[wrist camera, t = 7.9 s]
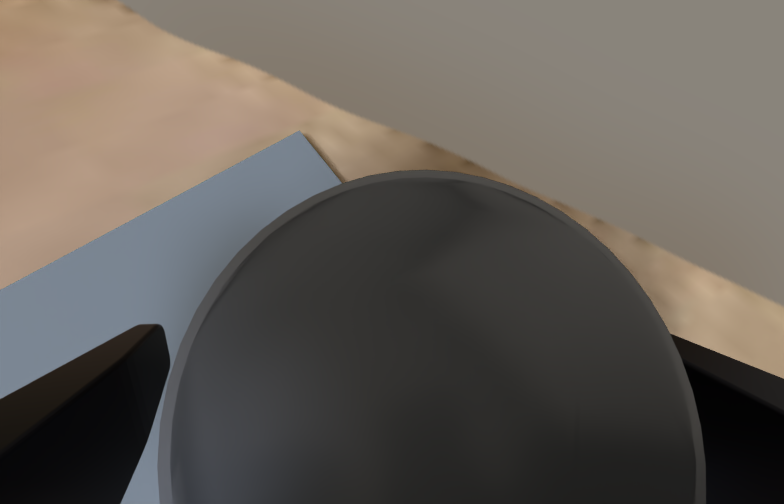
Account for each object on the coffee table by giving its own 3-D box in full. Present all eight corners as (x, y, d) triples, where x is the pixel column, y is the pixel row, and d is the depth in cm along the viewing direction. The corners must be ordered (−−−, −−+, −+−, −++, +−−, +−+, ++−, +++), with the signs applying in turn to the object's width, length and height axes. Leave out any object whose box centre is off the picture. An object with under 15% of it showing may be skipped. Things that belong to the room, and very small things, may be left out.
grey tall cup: (437, 480, 16) (790, 723, 3) (294, 492, 15) (105, 850, 3) (425, 336, 17) (626, 166, 5) (297, 340, 17) (193, 158, 5)
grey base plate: (545, 449, 18) (580, 455, 15) (190, 817, 13) (154, 920, 10) (301, 145, 21) (296, 109, 19) (-47, 335, 16) (-117, 322, 14)
